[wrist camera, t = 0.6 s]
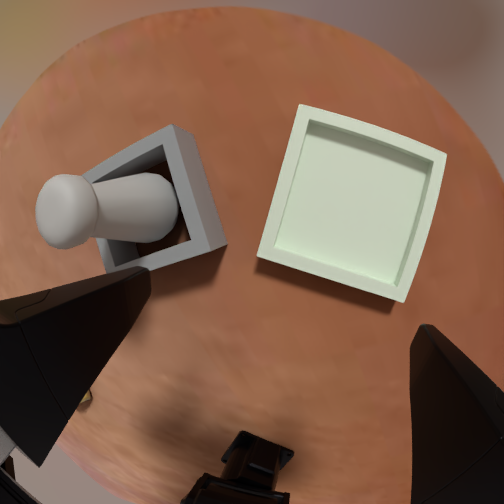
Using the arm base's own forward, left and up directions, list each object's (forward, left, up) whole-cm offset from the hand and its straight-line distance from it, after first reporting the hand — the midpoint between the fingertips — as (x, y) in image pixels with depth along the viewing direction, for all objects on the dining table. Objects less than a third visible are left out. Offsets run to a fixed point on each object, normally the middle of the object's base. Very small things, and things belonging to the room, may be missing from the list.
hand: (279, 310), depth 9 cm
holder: (-2, +13, -15) cm, 20 cm away
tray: (+5, -2, -15) cm, 16 cm away
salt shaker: (-2, +13, -15) cm, 20 cm away
